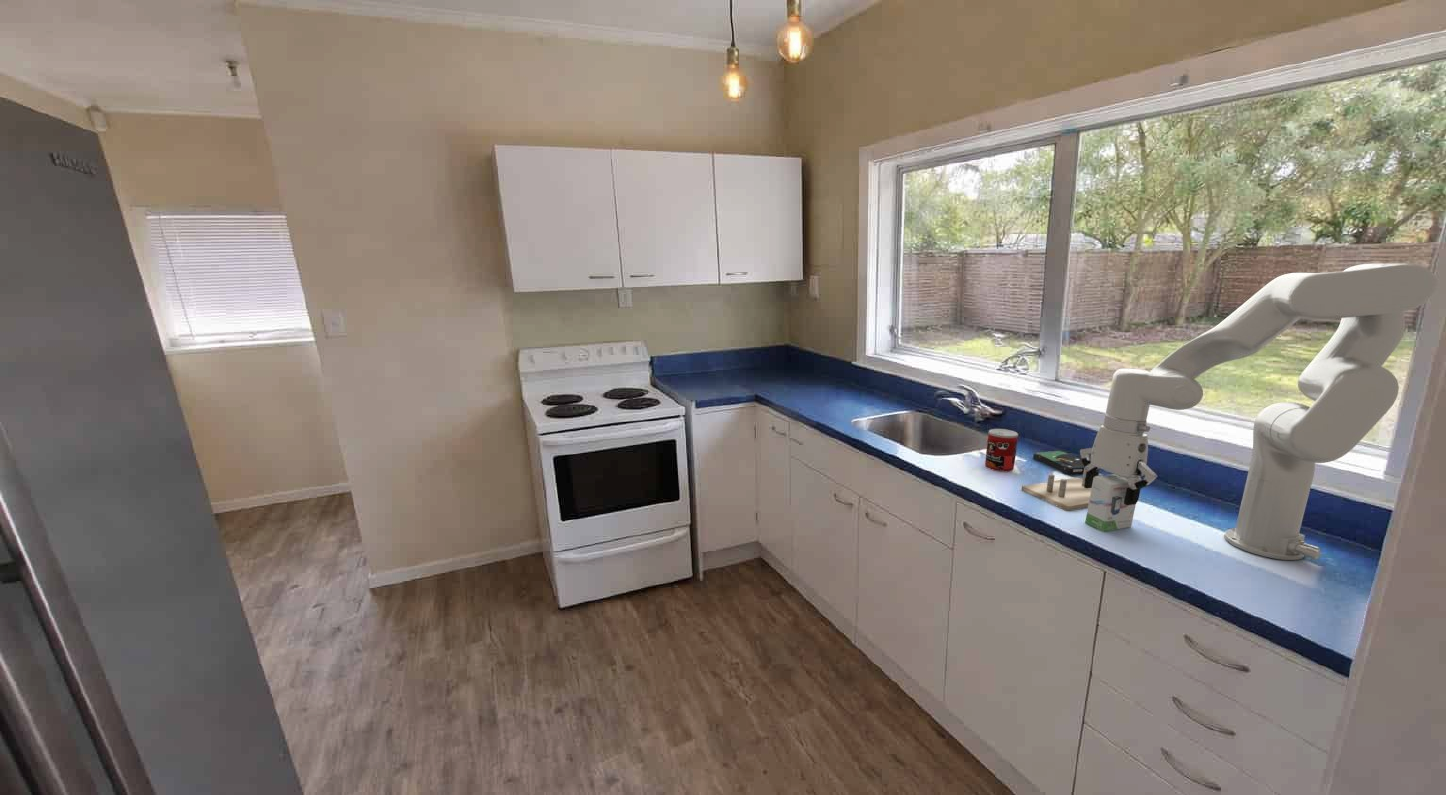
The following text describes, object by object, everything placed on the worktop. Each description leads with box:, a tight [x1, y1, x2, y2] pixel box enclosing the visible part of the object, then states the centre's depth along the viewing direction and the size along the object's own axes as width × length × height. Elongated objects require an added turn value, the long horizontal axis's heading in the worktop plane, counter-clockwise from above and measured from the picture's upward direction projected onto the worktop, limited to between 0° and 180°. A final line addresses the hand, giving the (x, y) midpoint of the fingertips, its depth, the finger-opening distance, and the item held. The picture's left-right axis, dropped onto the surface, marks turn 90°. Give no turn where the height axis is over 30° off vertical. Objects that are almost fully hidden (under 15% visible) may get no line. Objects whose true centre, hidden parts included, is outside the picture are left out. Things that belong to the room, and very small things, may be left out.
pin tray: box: [1021, 470, 1103, 512], centre depth 147 cm, size 14×20×6 cm
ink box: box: [1084, 473, 1137, 532], centre depth 129 cm, size 9×5×12 cm, turn 105°
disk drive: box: [1032, 450, 1100, 476], centre depth 170 cm, size 10×3×15 cm
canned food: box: [984, 428, 1019, 472], centre depth 167 cm, size 8×8×11 cm
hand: (1109, 495), depth 129 cm, fingers open, 9 cm apart
